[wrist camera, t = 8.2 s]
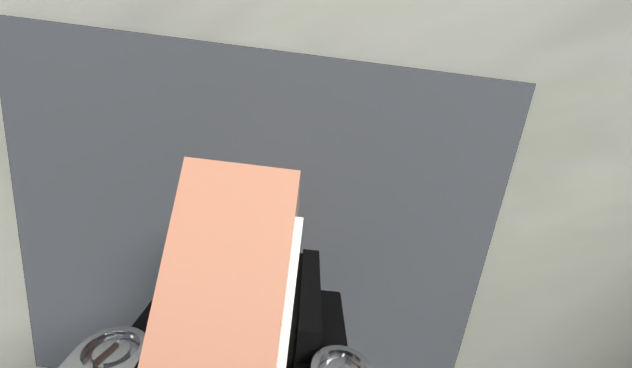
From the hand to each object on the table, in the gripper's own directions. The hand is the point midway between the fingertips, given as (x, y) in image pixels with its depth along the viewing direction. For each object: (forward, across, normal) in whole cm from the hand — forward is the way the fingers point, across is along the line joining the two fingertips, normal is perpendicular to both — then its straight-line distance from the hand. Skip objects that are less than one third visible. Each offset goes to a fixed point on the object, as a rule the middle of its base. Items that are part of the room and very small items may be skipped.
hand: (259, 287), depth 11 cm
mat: (+3, +1, 0) cm, 3 cm away
